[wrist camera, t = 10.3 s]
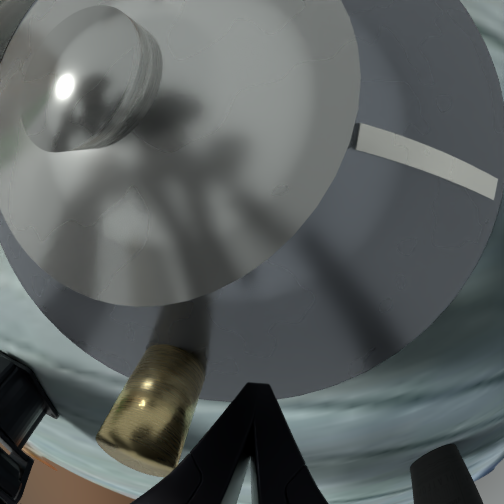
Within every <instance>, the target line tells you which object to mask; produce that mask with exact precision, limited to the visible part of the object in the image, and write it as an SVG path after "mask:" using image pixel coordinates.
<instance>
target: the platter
mask: <svg viewBox="0 0 504 504" xmlns="http://www.w3.org/2000/svg"><path fill="white" fill-rule="evenodd" d="M37 1H38V0H35V1H34V3H33V4H32V5H31V7H30V8H29V10H28V11H27V12H26V14H25V15H24V17H23V18H22V20H21V22H20V23H19V25H18V27H17V29H18V28H19V26H20V24H21V23H22V21H23V20H24V18H25V17H26V16H27V14H28V13H29V11H30V10H31V9H32V7H33V6H34V5H35V4H36V3H37ZM341 1H342V3H343V5H344V7H345V9H346V11H347V13H348V15H349V17H350V20H351V24H352V27H353V30H354V34H355V37H356V41H357V45H358V52H359V62H360V73H361V80H360V94H359V105H358V112H357V116H356V120H355V124H354V128H353V132H352V136H351V140H350V143H349V146H348V148H347V151H346V153H345V155H344V158H343V160H342V162H341V165H340V167H339V169H338V172H337V174H336V176H335V178H334V180H333V181H332V183H331V185H330V186H329V188H328V189H327V191H326V193H325V194H324V196H323V198H322V199H321V201H320V203H319V204H318V206H317V207H316V209H315V210H314V211H313V212H312V214H311V215H310V216H309V217H308V218H307V220H306V221H305V222H304V223H303V225H302V226H301V227H300V228H299V229H298V231H297V232H296V233H295V234H294V235H293V236H292V237H291V238H290V239H289V240H288V241H287V242H286V243H285V244H284V245H283V246H282V247H281V248H279V249H278V250H277V251H276V252H275V253H274V254H273V255H272V256H271V257H270V258H269V259H267V260H266V261H264V262H263V263H262V264H260V265H259V266H257V267H256V268H255V269H253V270H252V271H250V272H249V273H247V274H246V275H245V276H243V277H242V278H240V279H238V280H236V281H234V282H232V283H230V284H228V285H226V286H224V287H222V288H220V289H218V290H216V291H214V292H212V293H209V294H206V295H203V296H200V297H197V298H194V299H192V300H189V301H184V302H179V303H174V304H169V305H163V306H147V307H133V306H124V305H115V304H111V303H107V302H103V301H99V300H95V299H92V298H90V297H87V296H85V295H82V294H80V293H78V292H75V291H73V290H71V289H70V288H68V287H66V286H65V285H63V284H61V283H60V282H58V281H56V280H55V279H54V278H53V277H51V276H50V275H49V274H47V273H46V272H45V271H44V270H43V269H41V268H40V267H39V266H38V265H37V264H36V263H35V262H34V261H33V260H32V259H31V258H30V256H29V255H28V254H27V253H26V252H25V251H24V249H23V248H22V247H21V245H20V244H19V243H18V241H17V240H16V238H15V237H14V235H13V233H12V232H11V230H10V228H9V227H8V225H7V223H6V221H5V219H4V217H3V214H2V212H1V210H0V243H1V245H2V248H3V250H4V252H5V255H6V257H7V259H8V261H9V263H10V265H11V267H12V269H13V271H14V272H15V274H16V276H17V277H18V279H19V281H20V282H21V284H22V286H23V287H24V289H25V290H26V292H27V293H28V295H29V296H30V297H31V299H32V300H33V301H34V302H35V304H36V305H37V306H38V308H39V309H40V310H41V311H42V313H43V314H44V315H45V316H46V317H47V318H48V319H49V320H50V321H51V322H52V323H53V324H54V325H55V326H56V327H57V328H58V329H59V330H60V331H61V332H62V333H63V334H64V335H65V336H66V337H67V338H68V339H70V340H71V341H72V342H73V343H74V344H76V345H77V346H78V347H79V348H81V349H82V350H83V351H84V352H86V353H87V354H89V355H90V356H92V357H93V358H95V359H96V360H98V361H100V362H101V363H103V364H104V365H106V366H107V367H109V368H111V369H113V370H115V371H117V372H119V373H121V374H123V375H125V376H127V377H129V380H128V381H127V383H126V385H125V386H124V388H123V390H122V391H121V393H120V395H119V397H118V398H117V400H116V402H115V403H114V405H113V407H112V409H111V410H110V412H109V414H108V416H107V417H106V419H105V421H104V423H103V425H102V426H101V428H100V430H99V432H98V433H97V435H96V441H97V443H98V444H99V446H100V447H101V448H102V449H103V450H104V451H105V452H106V453H107V454H109V455H110V456H111V457H113V458H114V459H115V460H117V461H119V462H120V463H122V464H124V465H126V466H128V467H130V468H132V469H134V470H137V471H139V472H142V473H145V474H149V475H153V476H158V477H166V476H167V475H168V474H169V473H171V472H172V471H173V470H174V469H175V468H176V467H177V465H178V462H179V459H180V456H181V453H182V449H183V446H184V443H185V440H186V437H187V433H188V430H189V427H190V424H191V421H192V418H193V414H194V411H195V408H196V405H197V402H198V399H204V400H214V401H225V402H232V401H233V400H234V399H235V397H236V396H237V395H238V393H239V392H240V391H241V390H242V388H243V387H244V386H245V384H246V383H247V382H255V383H268V384H270V386H271V388H272V390H273V392H274V395H275V397H276V399H282V398H289V397H295V396H300V395H304V394H307V393H311V392H314V391H318V390H321V389H325V388H328V387H331V386H334V385H337V384H339V383H341V382H344V381H346V380H348V379H351V378H353V377H355V376H357V375H359V374H362V373H364V372H366V371H368V370H370V369H371V368H373V367H375V366H376V365H378V364H380V363H381V362H383V361H385V360H386V359H388V358H389V357H391V356H393V355H394V354H396V353H397V352H399V351H400V350H401V349H403V348H404V347H405V346H406V345H408V344H409V343H410V342H411V341H413V340H414V339H415V338H416V337H417V336H419V335H420V334H421V333H422V332H423V331H424V330H426V329H427V328H428V327H429V326H430V325H431V324H432V323H433V322H434V321H435V320H436V319H437V317H438V316H439V315H440V314H441V313H442V312H443V311H444V310H445V309H446V307H447V306H448V305H449V304H450V303H451V302H452V301H453V299H454V298H455V297H456V295H457V294H458V292H459V291H460V290H461V288H462V287H463V285H464V284H465V282H466V281H467V279H468V278H469V276H470V275H471V273H472V271H473V270H474V268H475V267H476V265H477V263H478V261H479V259H480V257H481V255H482V252H483V250H484V248H485V246H486V244H487V242H488V239H489V237H490V235H491V232H492V230H493V227H494V223H495V220H496V217H497V214H498V210H499V206H500V203H501V199H502V195H503V189H504V102H503V97H502V92H501V87H500V83H499V79H498V76H497V73H496V70H495V67H494V64H493V62H492V59H491V56H490V54H489V51H488V49H487V46H486V44H485V42H484V40H483V38H482V36H481V34H480V32H479V30H478V29H477V27H476V25H475V23H474V22H473V20H472V18H471V16H470V15H469V13H468V12H467V10H466V8H465V7H464V6H463V4H462V3H461V2H460V0H341ZM17 29H16V30H15V32H14V34H15V33H16V31H17ZM14 34H13V36H14ZM13 36H12V38H13ZM12 38H11V40H12ZM11 40H10V42H11ZM10 42H9V43H8V45H7V48H8V46H9V44H10ZM7 48H6V50H7ZM6 50H5V52H6ZM5 52H4V54H5ZM3 57H4V55H3ZM3 57H2V59H3ZM2 59H1V62H2ZM1 62H0V64H1Z"/></svg>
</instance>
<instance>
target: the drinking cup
mask: <svg viewBox="0 0 504 504" xmlns="http://www.w3.org/2000/svg"><path fill="white" fill-rule="evenodd" d="M410 472H411V479H412V488H413V498H414V504H483V502H482V499H481V497H480V495H479V493H478V490H477V488H476V486H475V484H474V481H473V479H472V477H471V475H470V473H469V471H468V469H467V467H466V465H465V463H464V461H463V459H462V457H461V455H460V453H459V451H458V449H457V447H456V445H454V444H450V445H445V446H443V447H440V448H438V449H435V450H433V451H431V452H429V453H427V454H426V455H424V456H422V457H421V458H419V459H418V460H417V461H415V462H414V463H413V464H412V465H411V467H410Z"/></svg>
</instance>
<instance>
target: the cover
mask: <svg viewBox="0 0 504 504" xmlns="http://www.w3.org/2000/svg"><path fill="white" fill-rule="evenodd" d="M360 80H361V73H360V62H359V52H358V45H357V41H356V37H355V34H354V30H353V27H352V24H351V20H350V17H349V15H348V13H347V11H346V9H345V7H344V5H343V3H342V1H341V0H38V1H37V3H36V4H35V5H34V6H33V7H32V9H31V10H30V11H29V13H28V14H27V16H26V17H25V18H24V20H23V21H22V23H21V24H20V26H19V28H18V29H17V31H16V33H15V34H14V36H13V38H12V40H11V42H10V44H9V46H8V48H7V50H6V52H5V54H4V57H3V59H2V62H1V64H0V210H1V212H2V214H3V217H4V219H5V221H6V223H7V225H8V227H9V228H10V230H11V232H12V233H13V235H14V237H15V238H16V240H17V241H18V243H19V244H20V245H21V247H22V248H23V249H24V251H25V252H26V253H27V254H28V255H29V256H30V258H31V259H32V260H33V261H34V262H35V263H36V264H37V265H38V266H39V267H40V268H41V269H43V270H44V271H45V272H46V273H47V274H49V275H50V276H51V277H53V278H54V279H55V280H56V281H58V282H60V283H61V284H63V285H65V286H66V287H68V288H70V289H71V290H73V291H75V292H78V293H80V294H82V295H85V296H87V297H90V298H92V299H95V300H99V301H103V302H107V303H111V304H115V305H124V306H133V307H147V306H163V305H169V304H174V303H179V302H184V301H189V300H192V299H194V298H197V297H200V296H203V295H206V294H209V293H212V292H214V291H216V290H218V289H220V288H222V287H224V286H226V285H228V284H230V283H232V282H234V281H236V280H238V279H240V278H242V277H243V276H245V275H246V274H247V273H249V272H250V271H252V270H253V269H255V268H256V267H257V266H259V265H260V264H262V263H263V262H264V261H266V260H267V259H269V258H270V257H271V256H272V255H273V254H274V253H275V252H276V251H277V250H278V249H279V248H281V247H282V246H283V245H284V244H285V243H286V242H287V241H288V240H289V239H290V238H291V237H292V236H293V235H294V234H295V233H296V232H297V231H298V229H299V228H300V227H301V226H302V225H303V223H304V222H305V221H306V220H307V218H308V217H309V216H310V215H311V214H312V212H313V211H314V210H315V209H316V207H317V206H318V204H319V203H320V201H321V199H322V198H323V196H324V194H325V193H326V191H327V189H328V188H329V186H330V185H331V183H332V181H333V180H334V178H335V176H336V174H337V172H338V169H339V167H340V165H341V162H342V160H343V158H344V155H345V153H346V151H347V148H348V146H349V143H350V140H351V136H352V132H353V128H354V124H355V120H356V116H357V112H358V105H359V94H360Z"/></svg>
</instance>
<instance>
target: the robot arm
mask: <svg viewBox="0 0 504 504" xmlns="http://www.w3.org/2000/svg"><path fill="white" fill-rule="evenodd" d="M45 414H47V415H49V416H51V417H53V418H55V419H57V418H58V417H59V415H58V413H57V412H56V410H55V409H54V407H53V406H52V404H51V403H50V401H49V399H48V398H47V396H46V395H45V393H44V391H43V390H42V388H41V386H40V384H39V383H38V381H37V379H36V377H35V375H34V374H33V372H32V371H31V370H30V369H29V368H28V367H26V366H24V365H22V364H20V363H19V362H17V361H15V360H13V359H11V358H10V357H8V356H6V355H4V354H3V353H1V352H0V442H1V443H2V444H3V445H4V446H5V447H6V448H7V449H8V450H9V451H10V452H11V454H10V455H8V454H7V453H6V452H5V451H4V450H3V449H2V448H1V447H0V504H17V503H18V502H19V500H20V499H21V497H22V495H23V492H24V489H25V485H26V482H27V480H28V477H29V474H30V471H31V468H32V465H33V463H34V460H33V459H32V458H31V457H29V456H28V455H26V454H25V453H24V452H23V451H22V450H21V449H22V448H23V446H24V445H25V443H26V442H27V440H28V439H29V437H30V436H31V434H32V433H33V431H34V430H35V428H36V427H37V426H38V424H39V423H40V421H41V420H42V418H43V417H44V416H45ZM250 456H251V493H252V504H328V502H327V501H326V499H325V498H324V496H323V495H322V493H321V492H320V490H319V489H318V487H317V485H316V483H315V481H314V480H313V478H312V476H311V474H310V472H309V470H308V467H307V466H306V465H305V461H304V459H303V457H302V455H301V453H300V451H299V448H298V446H297V444H296V442H295V440H294V438H293V435H292V433H291V431H290V429H289V426H288V424H287V422H286V420H285V418H284V415H283V413H282V411H281V408H280V406H279V404H278V402H277V399H276V397H275V395H274V392H273V390H272V388H271V386H270V384H268V383H255V382H247V383H246V384H245V386H244V387H243V388H242V390H241V391H240V392H239V393H238V395H237V396H236V397H235V399H234V400H233V401H232V402H231V404H230V405H229V406H228V407H227V409H226V410H225V411H224V412H223V414H222V415H221V416H220V417H219V419H218V420H217V421H216V422H215V423H214V425H213V426H212V427H211V428H210V429H209V431H208V432H207V433H206V434H205V435H204V437H203V438H202V439H201V440H200V441H199V442H198V444H197V445H196V446H195V447H194V448H193V449H192V450H191V452H190V454H188V455H187V456H186V457H185V458H184V459H183V460H182V461H181V463H180V464H179V465H178V466H177V467H176V468H175V469H174V470H173V471H172V472H171V473H169V474H168V475H167V476H166V477H165V478H164V479H162V480H161V481H160V482H159V483H157V484H156V485H155V486H154V487H152V488H151V489H150V490H148V491H147V492H146V493H144V494H143V495H141V496H140V497H139V498H137V499H136V500H135V501H133V502H132V503H130V504H236V503H237V500H238V497H239V494H240V490H241V487H242V484H243V481H244V477H245V474H246V470H247V467H248V463H249V460H250Z"/></svg>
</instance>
